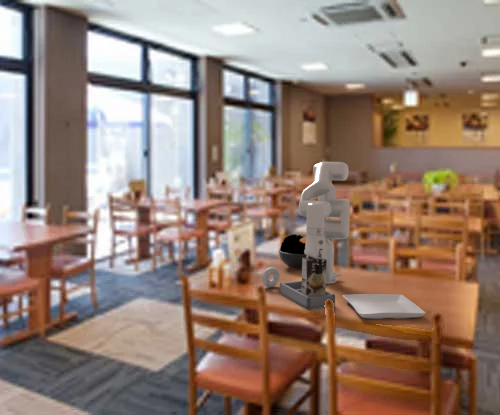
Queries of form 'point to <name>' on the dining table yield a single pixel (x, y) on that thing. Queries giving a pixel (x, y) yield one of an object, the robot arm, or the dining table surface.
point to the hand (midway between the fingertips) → (314, 271)
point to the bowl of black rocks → (292, 251)
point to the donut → (267, 273)
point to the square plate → (384, 306)
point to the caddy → (304, 296)
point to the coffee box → (313, 278)
